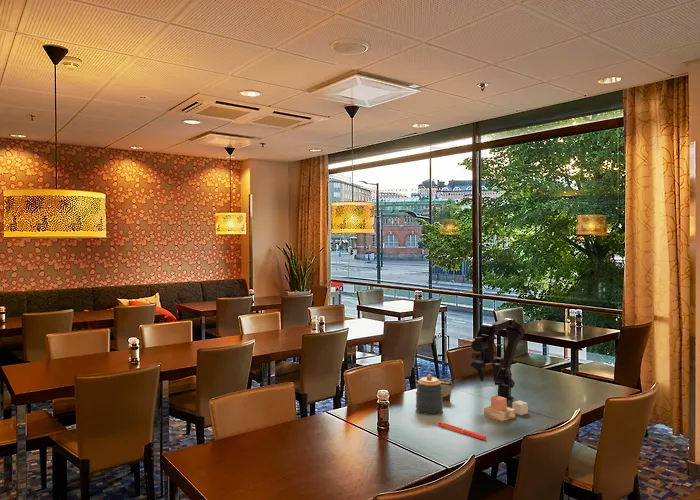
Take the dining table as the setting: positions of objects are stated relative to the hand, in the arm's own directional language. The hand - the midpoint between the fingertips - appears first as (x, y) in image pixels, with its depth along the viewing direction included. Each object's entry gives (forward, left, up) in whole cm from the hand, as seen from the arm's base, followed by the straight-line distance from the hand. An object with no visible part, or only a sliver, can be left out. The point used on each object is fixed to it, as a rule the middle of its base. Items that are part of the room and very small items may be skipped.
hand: (488, 379), depth 262 cm
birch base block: (+10, +16, -12) cm, 23 cm away
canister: (+32, -8, -12) cm, 35 cm away
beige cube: (-2, +18, -12) cm, 22 cm away
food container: (+16, -18, -12) cm, 27 cm away
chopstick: (+39, +21, -13) cm, 46 cm away
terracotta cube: (+10, +16, -8) cm, 20 cm away
